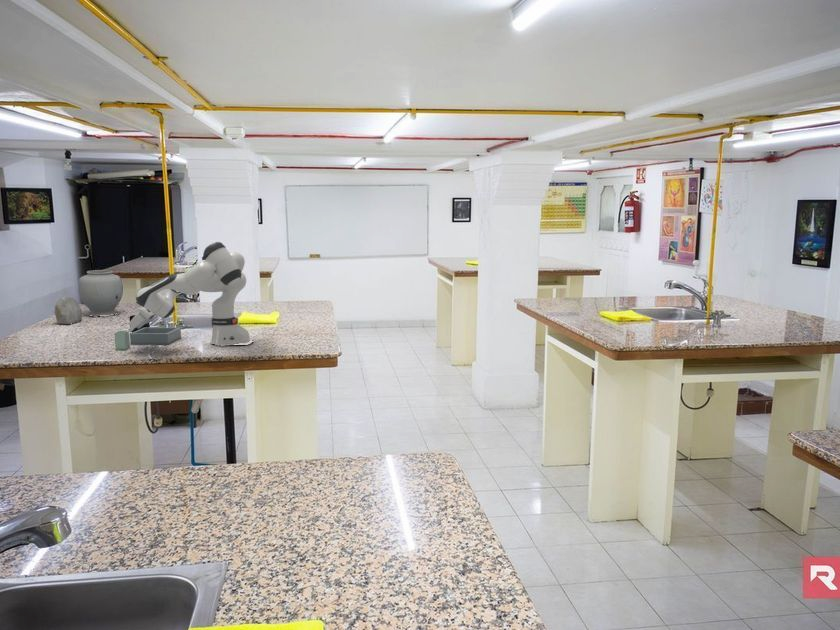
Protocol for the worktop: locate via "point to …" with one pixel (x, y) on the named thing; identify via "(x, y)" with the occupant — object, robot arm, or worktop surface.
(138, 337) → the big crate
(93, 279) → the grey ceramic vase
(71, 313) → the decorative stone
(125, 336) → the pale green block
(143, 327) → the electronic device
